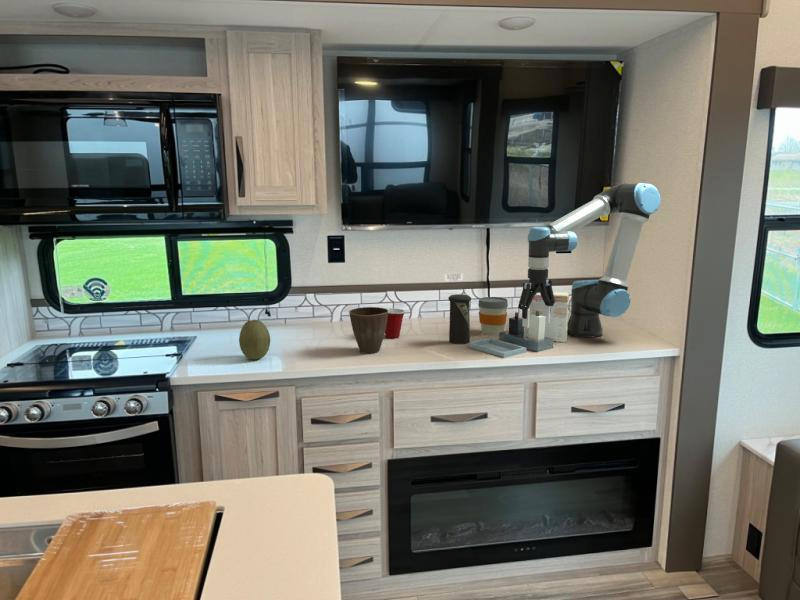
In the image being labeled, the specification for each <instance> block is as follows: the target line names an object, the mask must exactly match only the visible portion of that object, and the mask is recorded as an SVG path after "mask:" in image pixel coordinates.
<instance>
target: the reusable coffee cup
mask: <svg viewBox="0 0 800 600" xmlns="http://www.w3.org/2000/svg"><path fill="white" fill-rule="evenodd" d="M477 306H478V308H479V311H478V317H479V318H478V319H479V323H480V326H481V334H482V335H483V336H484V335H492V336H494V335H499V332H504V329H505V324H506V322H507V317H508V311H507V309H508V307H509V304H508V299H507V298H506V297H505V298H504V297H500V296H499V297H498V296H487V297H480V298H479V299H478V305H477Z"/></svg>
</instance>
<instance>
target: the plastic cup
mask: <svg viewBox="0 0 800 600" xmlns="http://www.w3.org/2000/svg"><path fill="white" fill-rule="evenodd" d="M385 309H387V310H388V318H387V324H386V330H385V334H384V337H385V338H386V339H389V338H390V339H391V340H392V339H393V340H395V338H396V339H399V338H400V336H401V335H400V334H401V329H402V324H403V318H404V315H405V313H406V310H404V309H402V308H394V307H393V308H392V307H385Z"/></svg>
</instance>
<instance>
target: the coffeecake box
mask: <svg viewBox="0 0 800 600" xmlns="http://www.w3.org/2000/svg"><path fill="white" fill-rule="evenodd" d="M553 295H554V299H555V303H554V305H553V306H551V313H550V323H546V322H545V333H544V337H548V338H553V339H554V341H556V343H557V342H558V343H566V342H567V341H568V340H567V339H568V334H567V329H568V321H569V304H570V303H569V299H570V293H569V292H556V291H553ZM544 305H545V303H544V301H543V299H542V296H541V294H540V293H537V294H536V295H535V296H534V298H533V300H532V302H531V304H530V306H529V310H530V315H536V311H540V313H539V315H540V316H543V307H544ZM554 341H553V342H554Z"/></svg>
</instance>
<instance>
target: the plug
mask: <svg viewBox="0 0 800 600" xmlns="http://www.w3.org/2000/svg"><path fill="white" fill-rule="evenodd" d="M539 313H540V311H536V315H530V316H529V327H528V330H527V331H528V338H529V339H533V340H537V341H539V340H543V339H544V333H545V318H546V317H545V316H540V315H539Z"/></svg>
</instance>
